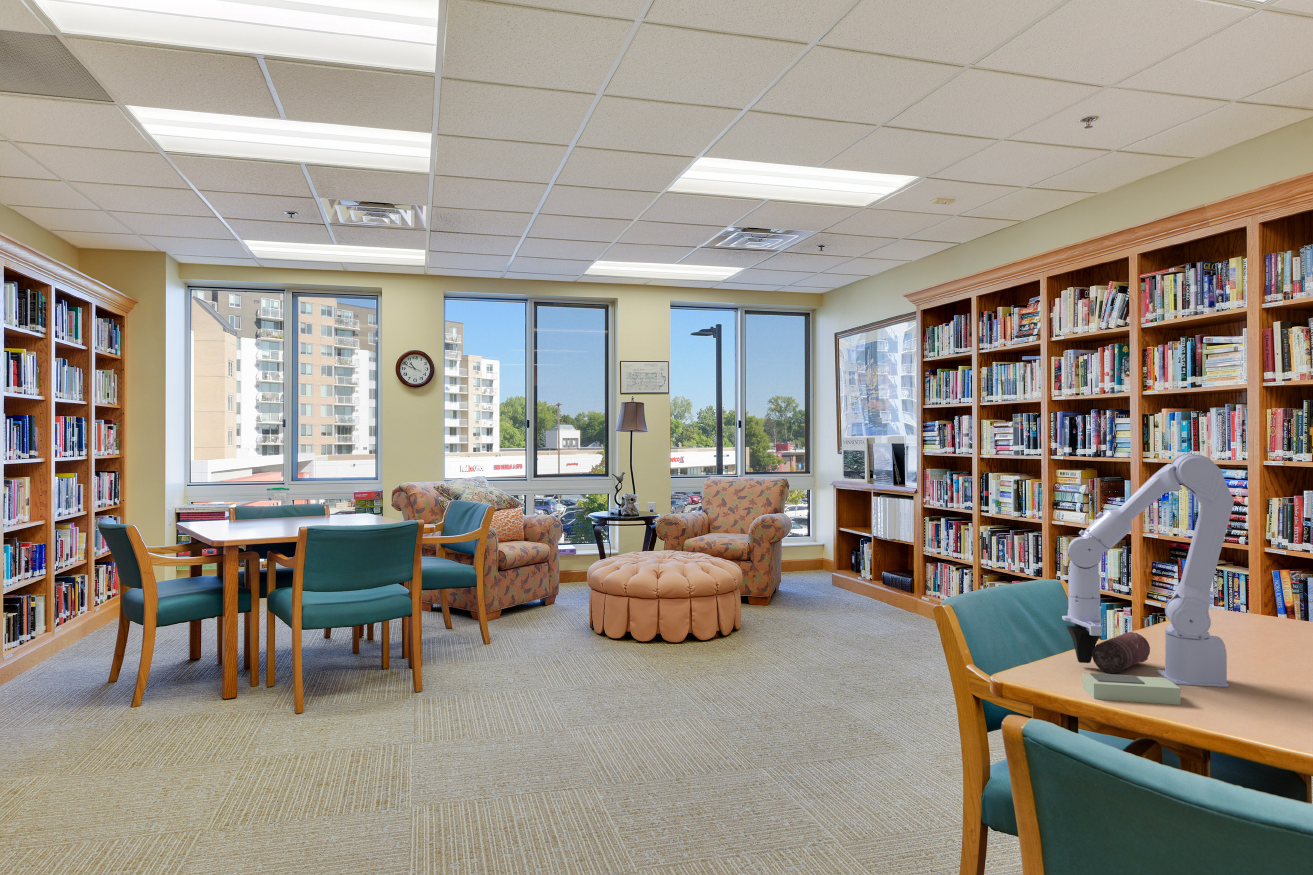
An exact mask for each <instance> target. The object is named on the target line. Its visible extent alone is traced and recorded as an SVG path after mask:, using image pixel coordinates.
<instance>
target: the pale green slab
mask: <svg viewBox="0 0 1313 875" xmlns="http://www.w3.org/2000/svg"><path fill="white" fill-rule="evenodd" d="M1082 690H1084V691H1085V693H1087V694H1088V695H1089V696H1090V697H1091V698H1093V699H1094V700H1104V699H1105V700H1104V701H1106V700H1108V701H1119V700H1121V701H1122V700H1123V702H1134V703H1136V702H1137V703H1150V704H1151V703H1152V704H1165V705H1182V704H1181V702H1182V700H1181V696H1182V694H1181V693H1182V692H1181V690H1182V689H1181V687H1179V686H1178V684H1174V683H1172V682H1171V681H1169V680H1168V679H1167V678H1164V677H1158V676H1157V677H1155V676H1153V677H1152V676H1140V675H1139V676H1136V675H1131V674H1116V673H1094V672H1091V673H1090V672H1089V673H1082ZM1135 701H1136V702H1135Z"/></svg>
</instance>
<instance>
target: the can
mask: <svg viewBox="0 0 1313 875" xmlns="http://www.w3.org/2000/svg"><path fill="white" fill-rule="evenodd" d="M1150 653H1151V647H1150V644H1149V642H1148V640H1147V639H1146V638H1145V637H1144V636H1143V635H1141V634H1139V633H1138V632H1133V631H1131V632H1129V631H1128V632H1125V633H1122V634H1119V635H1117V636H1114V637H1112V638H1109V639H1106V640H1103V641H1101V642H1099V643H1096V645H1095V647H1094V649H1093V651H1092V660H1093V663H1094V664H1095V666H1096V667H1097V668H1098V669H1099V670H1101V671H1102V672H1104V673H1106V674H1116V673H1119V672H1122V671H1123V670H1125V669H1128V668H1130V667H1132V666H1135V665H1137V664H1139V663H1144V662H1146V661H1148V658H1149V655H1150Z"/></svg>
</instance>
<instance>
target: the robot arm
mask: <svg viewBox="0 0 1313 875" xmlns="http://www.w3.org/2000/svg"><path fill="white" fill-rule="evenodd" d="M1181 485H1182V486H1183V487H1184V488H1186V489H1188V490H1189V491H1190V493H1191V494H1192V495H1193V496H1194V499H1195V498H1196V500H1197V501H1198V502H1199V503H1200V509H1199V512H1198V516H1197V519H1196V523H1195V527H1194V530H1193V534H1192V538H1191V542H1190V546H1189V549H1188V553H1187V557H1186V561H1185V564H1184V567H1183V572H1182V574H1181V579H1180V582H1179V584H1177V587H1176V588H1175V592H1174V594H1173V596H1172V597H1171V598H1170V599H1169V600H1168V601H1167V602H1166V604H1165V608H1164V612H1165V613H1164V614H1165V616H1166V618H1167V619H1168V620H1169V622H1170V623H1169V625H1168V627H1165V629H1164V631H1165V632H1164V641H1165V642H1164V643H1165V644H1164V651H1165V653H1164V654H1165V655H1164V656H1165V657H1164V659H1165V660H1164V662H1165V663H1164V664H1165V665H1164V666H1165V667H1164V668H1165V670H1164V669H1157V670H1156V673H1157V674H1159V675H1160V676H1161V677H1162V678H1167V679H1168V680H1169V681H1171V682H1172V683H1174V684H1175V685H1177V686H1178V685H1179V686H1180V685H1181V686H1198V687H1220V688H1229V685H1230V684H1229V683H1228V682H1227V680H1228V677H1227V676H1228V670H1227V668H1228V667H1227V666H1228V664H1227V663H1228V661H1227V660H1228V659H1227V658H1228V656H1227V648H1226V645H1225V643H1224V640H1223V639H1222V638H1221V637H1220V636H1217V635H1211V633H1210V631H1209V630H1210V629H1211V625H1212V623H1211V622H1212V621H1211V620H1212V619H1211V617H1210V614H1209V609H1210V605H1211V588H1212V584H1213V581H1214V576H1215V573H1216V571H1217V570H1216V569H1217V566H1218V563H1219V559H1220V554H1221V552H1222V548H1223V544H1224V541H1225V538H1226V534H1227V529H1228V526H1229V522H1230V519H1231V515H1232V511H1233V508H1234V504H1235V503H1234V498H1233V495H1232V492H1231V491H1230V489H1229V486H1228V484H1227V482H1226V479H1225V477H1224V475H1223V470H1222V469H1221V468H1220V467H1219V466H1218V465H1217V464H1216V463H1215V462H1214V461H1213V460H1211V458H1210V457H1207V456H1205V455H1203V454H1194V453H1182V454H1180V455H1177V456H1176V457H1175V458H1173V460H1172V461H1171V463H1167V464H1166V465H1164V466H1162V467H1161V468H1160V469H1159V470H1157V471H1156V472H1155V473H1154V474H1152V476H1151V477H1149V479H1147V480H1146V481H1145V482H1144V483H1143V484H1142V485H1141V486H1140V487H1139V488H1138V489H1137V490H1136V491H1135V492H1134V493H1133V494H1132V495H1131V496H1130V497H1129V498H1128V499H1126V501H1125V502H1124V503H1123V504H1122V505H1121V506H1120V507H1119V508H1118V509H1107V510H1105V511H1104V512H1103V511H1099V512H1098V513H1097V514H1096V515H1095V516H1096V519H1095V521H1094V522H1092V523H1091V524H1090V525H1089V526H1088V527H1087V528H1086V529H1084V530H1083V529H1081V530H1080V531H1079V532H1078V534H1079V536H1078V537H1075V538H1073V539H1072V540H1071V541H1070V542H1069V543H1068V547H1067V549H1066V551H1067V555H1068V557H1069V559H1070V560H1069V564H1068V570H1069V571H1068V574H1067V577H1068V578H1067V580H1068V581H1067V582H1068V583H1067V586H1068V590H1067V591H1068V593H1067V597H1068V599H1067V601H1068V605H1067V606H1068V609H1067V615H1062V616H1061V619H1062V620H1063V621H1065V622H1070V623H1073V624H1074V625H1066V629H1067V630H1068V632H1069V634H1070V637H1071V640H1072V643H1073V646H1074V650H1075V655H1076V656H1075V657H1076V658H1077V662H1078V663H1080V664H1091V661H1092V660H1093V657H1092V651H1093V649H1094V647H1095V646H1096V645H1097V644H1098V641H1099V639H1101V638H1100V637H1102V636H1103V626H1102V625H1101V624H1102V618H1101V575H1100V571H1099V568H1100V567H1099V566H1100V563H1101V561H1102V558H1103V553H1105V552H1109V551H1110V550H1111V549H1112V548H1113V547H1115V546H1116V545H1117V544H1118V543H1119V542H1121V540H1122V539H1123V538H1125V536H1127V534H1129V533H1130V532H1131V531H1132V529H1133V528H1132V527H1133V526H1132V521H1133V520H1134V519H1135V518H1136V517H1137V516H1138V515H1140V514H1141V513H1142V512H1144V511H1145V510H1146V509H1147V508H1148V507H1150V505H1152V504H1153V503H1154V502H1156V500H1158V499H1159V498H1160V497H1161V496H1163V495H1164V494H1166V493H1172V492H1175V491H1181V490H1183V487H1182V486H1181Z"/></svg>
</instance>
